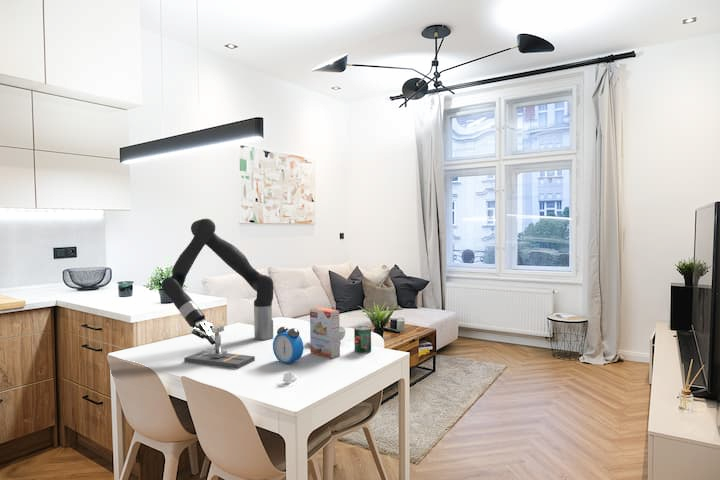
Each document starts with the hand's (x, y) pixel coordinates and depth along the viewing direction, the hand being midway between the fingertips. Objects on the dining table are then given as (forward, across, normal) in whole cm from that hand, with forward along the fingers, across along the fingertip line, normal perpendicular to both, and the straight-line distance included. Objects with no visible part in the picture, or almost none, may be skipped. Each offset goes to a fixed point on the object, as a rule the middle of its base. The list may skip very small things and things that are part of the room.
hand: (214, 343), depth 200 cm
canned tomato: (+45, +36, -33) cm, 67 cm away
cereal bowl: (+29, +45, -18) cm, 57 cm away
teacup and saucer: (+40, -12, -28) cm, 50 cm away
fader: (+5, 0, +3) cm, 6 cm away
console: (+7, 0, +4) cm, 8 cm away
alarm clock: (+28, +9, -17) cm, 34 cm away
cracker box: (+35, +25, -24) cm, 49 cm away
